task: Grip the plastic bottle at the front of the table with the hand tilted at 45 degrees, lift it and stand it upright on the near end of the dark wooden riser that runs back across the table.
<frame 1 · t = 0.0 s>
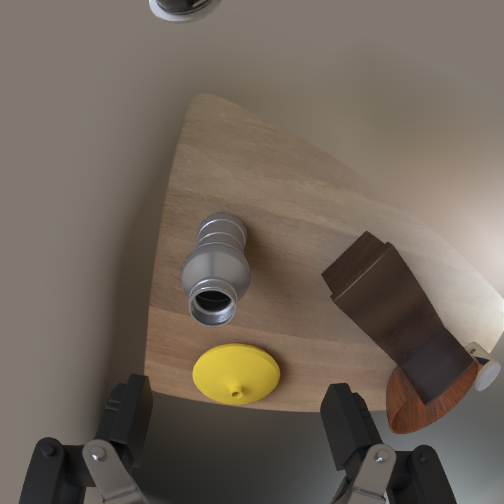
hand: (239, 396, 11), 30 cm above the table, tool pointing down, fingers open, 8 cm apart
dark wooden riser: (380, 294, 45), on the table
plastic bottle: (222, 230, 40), on the table
coffee cup: (467, 352, 56), on the table
bowl: (416, 368, 55), on the table
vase: (236, 366, 49), on the table
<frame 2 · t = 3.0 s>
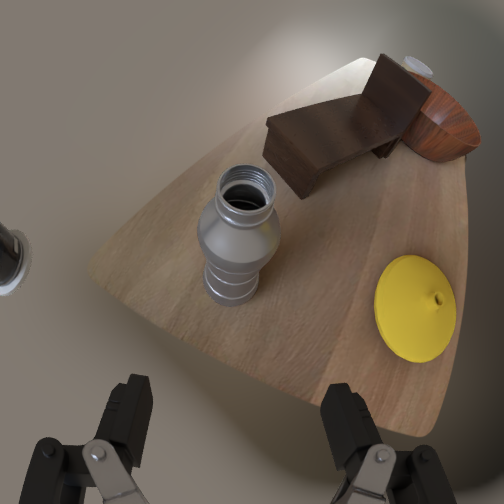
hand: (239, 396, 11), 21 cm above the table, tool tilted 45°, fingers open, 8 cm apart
dark wooden riser: (331, 153, 46), on the table
plastic bottle: (229, 284, 35), on the table
coffee cup: (402, 94, 62), on the table
bowl: (417, 136, 54), on the table
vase: (407, 312, 36), on the table
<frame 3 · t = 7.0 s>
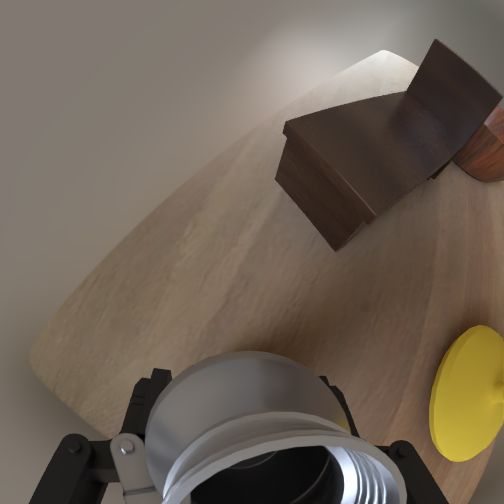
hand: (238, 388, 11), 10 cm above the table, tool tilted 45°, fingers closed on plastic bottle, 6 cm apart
dark wooden riser: (371, 174, 32), on the table
plastic bottle: (229, 398, 20), on the table, touching gripper
bowl: (459, 147, 40), on the table
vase: (461, 395, 22), on the table
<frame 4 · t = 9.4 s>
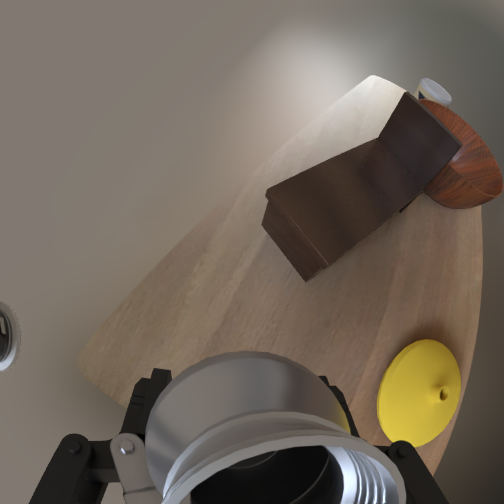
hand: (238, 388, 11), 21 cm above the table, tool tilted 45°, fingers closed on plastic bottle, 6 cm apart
dark wooden riser: (341, 215, 41), on the table
plastic bottle: (229, 398, 20), point 10 cm above the table, touching gripper
coffee cup: (416, 121, 57), on the table
bowl: (433, 176, 49), on the table
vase: (411, 394, 31), on the table
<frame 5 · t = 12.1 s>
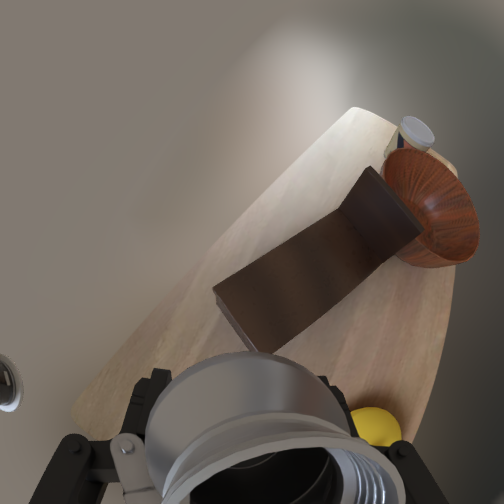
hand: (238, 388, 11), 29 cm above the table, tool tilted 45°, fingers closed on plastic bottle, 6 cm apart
dark wooden riser: (295, 288, 44), on the table
plastic bottle: (229, 398, 20), point 19 cm above the table, touching gripper
coffee cup: (396, 160, 61), on the table
bowl: (406, 228, 53), on the table
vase: (352, 448, 35), on the table
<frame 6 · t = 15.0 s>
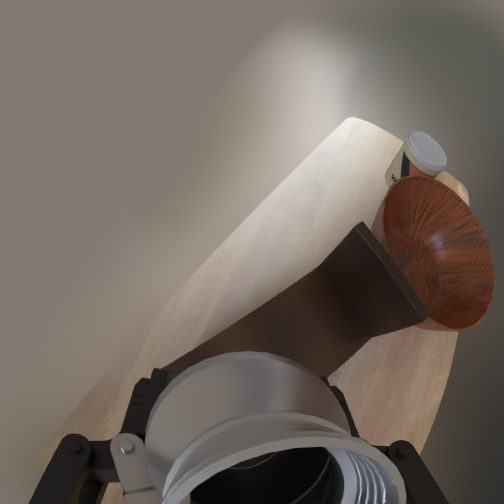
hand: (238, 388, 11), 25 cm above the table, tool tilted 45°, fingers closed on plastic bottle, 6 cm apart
dark wooden riser: (262, 360, 35), on the table
plastic bottle: (229, 398, 20), point 14 cm above the table, touching gripper
coffee cup: (399, 184, 52), on the table
bowl: (406, 273, 43), on the table
when the fingers open (18 cm above the table, at t = 17.4 s): plastic bottle stays where it is, resting on dark wooden riser.
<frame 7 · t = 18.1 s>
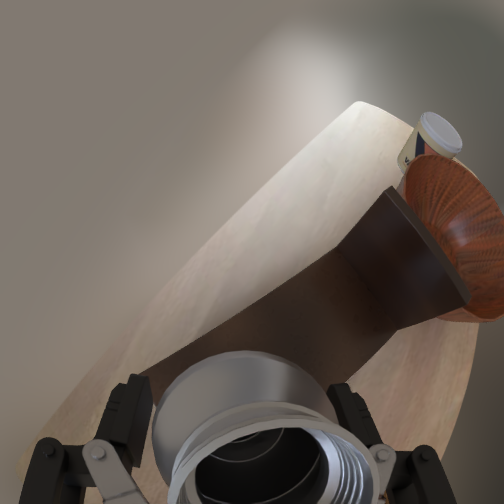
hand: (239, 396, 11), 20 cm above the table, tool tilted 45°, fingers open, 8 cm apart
dark wooden riser: (269, 359, 30), on the table
plastic bottle: (228, 396, 21), point 8 cm above the table, touching dark wooden riser
coffee cup: (412, 169, 47), on the table
bowl: (425, 261, 38), on the table
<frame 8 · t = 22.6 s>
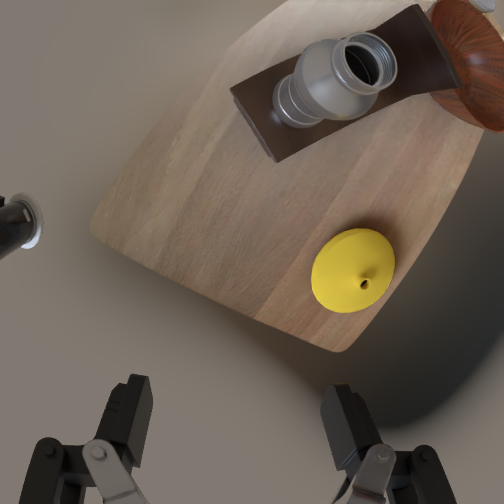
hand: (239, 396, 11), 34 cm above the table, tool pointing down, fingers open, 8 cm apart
dark wooden riser: (317, 94, 37), on the table
plastic bottle: (295, 104, 30), point 8 cm above the table, touching dark wooden riser
coffee cup: (447, 4, 27), on the table
bowl: (443, 69, 34), on the table
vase: (349, 265, 48), on the table
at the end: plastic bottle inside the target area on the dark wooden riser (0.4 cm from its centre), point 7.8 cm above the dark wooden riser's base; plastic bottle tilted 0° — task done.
